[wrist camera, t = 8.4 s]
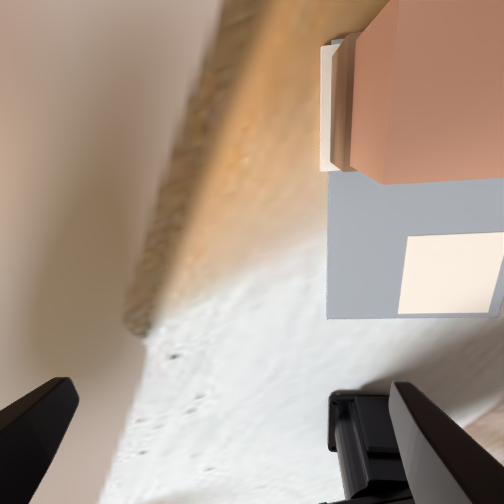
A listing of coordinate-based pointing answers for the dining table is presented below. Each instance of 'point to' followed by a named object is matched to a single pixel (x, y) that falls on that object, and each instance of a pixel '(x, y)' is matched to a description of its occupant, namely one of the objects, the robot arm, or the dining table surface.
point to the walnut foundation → (342, 102)
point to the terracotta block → (430, 92)
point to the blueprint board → (409, 240)
